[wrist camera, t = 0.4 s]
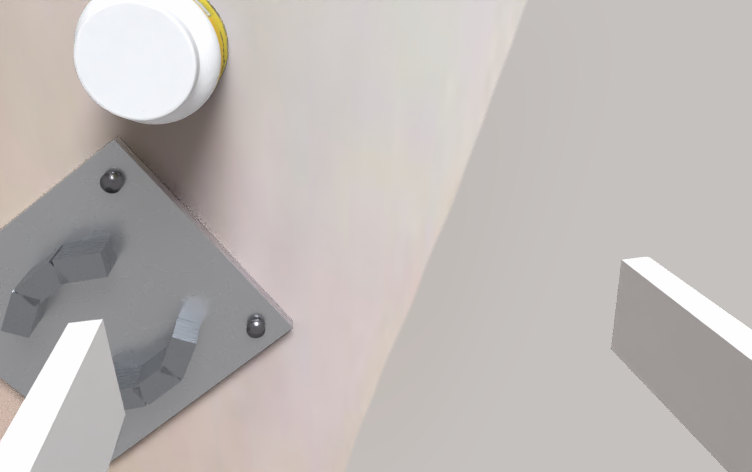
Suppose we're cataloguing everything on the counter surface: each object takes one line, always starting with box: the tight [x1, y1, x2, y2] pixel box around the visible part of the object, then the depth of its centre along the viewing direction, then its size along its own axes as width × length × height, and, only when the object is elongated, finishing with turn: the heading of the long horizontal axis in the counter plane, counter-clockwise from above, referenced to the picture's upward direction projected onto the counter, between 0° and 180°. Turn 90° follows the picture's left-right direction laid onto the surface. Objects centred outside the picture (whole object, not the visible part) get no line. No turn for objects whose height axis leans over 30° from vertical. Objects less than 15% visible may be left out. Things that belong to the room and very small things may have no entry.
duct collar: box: [0, 136, 293, 462], centre depth 38 cm, size 16×16×4 cm
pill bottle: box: [74, 0, 229, 124], centre depth 30 cm, size 6×6×11 cm
